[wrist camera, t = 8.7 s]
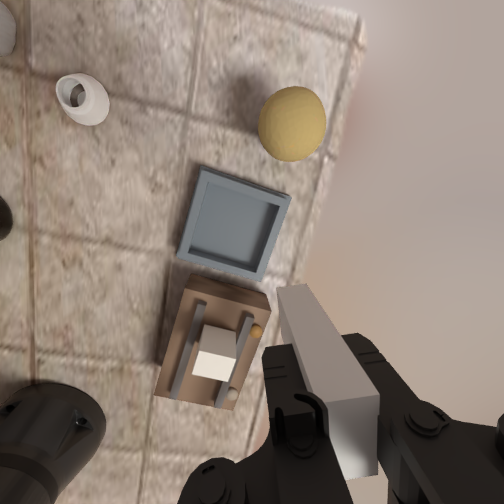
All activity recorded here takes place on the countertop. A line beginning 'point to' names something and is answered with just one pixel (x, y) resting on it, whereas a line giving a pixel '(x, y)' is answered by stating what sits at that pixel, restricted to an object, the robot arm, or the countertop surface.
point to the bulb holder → (232, 224)
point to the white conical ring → (83, 99)
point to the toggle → (215, 353)
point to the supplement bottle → (5, 220)
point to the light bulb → (292, 124)
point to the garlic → (6, 31)
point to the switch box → (188, 335)
